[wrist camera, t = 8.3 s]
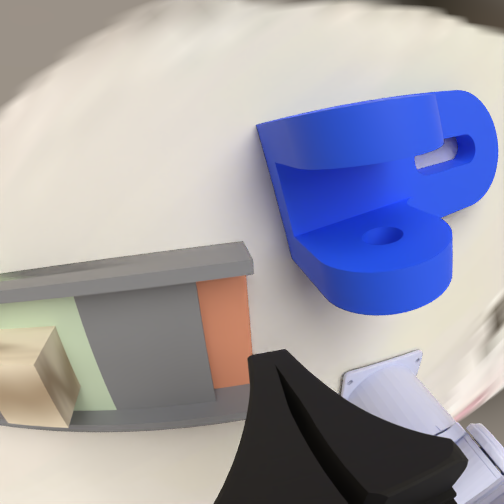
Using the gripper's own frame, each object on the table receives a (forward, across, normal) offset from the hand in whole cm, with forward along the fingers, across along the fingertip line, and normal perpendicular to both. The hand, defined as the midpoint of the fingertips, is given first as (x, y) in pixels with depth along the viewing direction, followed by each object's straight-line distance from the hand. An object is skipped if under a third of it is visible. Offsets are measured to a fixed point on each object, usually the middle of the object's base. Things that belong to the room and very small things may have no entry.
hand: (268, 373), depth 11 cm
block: (+8, +14, +4) cm, 17 cm away
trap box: (+9, +12, +4) cm, 16 cm away
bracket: (+10, -12, -6) cm, 17 cm away
